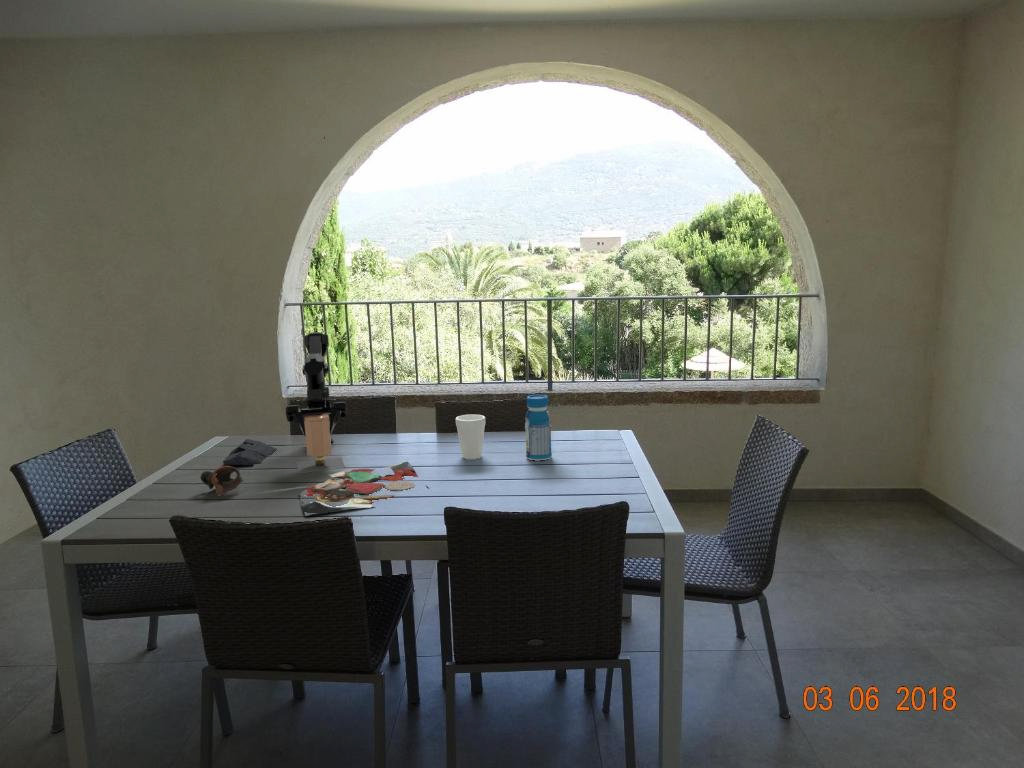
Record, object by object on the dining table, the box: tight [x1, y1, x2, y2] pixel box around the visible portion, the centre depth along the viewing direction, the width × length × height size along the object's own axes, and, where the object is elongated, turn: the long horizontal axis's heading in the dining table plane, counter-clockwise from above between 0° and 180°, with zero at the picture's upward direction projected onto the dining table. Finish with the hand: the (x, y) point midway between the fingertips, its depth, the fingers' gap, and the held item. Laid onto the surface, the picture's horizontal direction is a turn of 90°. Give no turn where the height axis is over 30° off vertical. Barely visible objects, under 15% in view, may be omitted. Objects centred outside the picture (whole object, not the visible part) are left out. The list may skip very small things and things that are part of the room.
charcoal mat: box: [296, 456, 346, 474], centre depth 233 cm, size 14×14×1 cm
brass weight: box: [314, 456, 326, 466], centre depth 233 cm, size 3×3×4 cm
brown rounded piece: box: [200, 465, 244, 496], centre depth 211 cm, size 12×10×8 cm
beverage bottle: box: [524, 394, 553, 462], centre depth 233 cm, size 8×8×20 cm
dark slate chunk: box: [222, 438, 278, 467], centre depth 246 cm, size 15×22×5 cm
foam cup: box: [455, 414, 486, 460], centre depth 238 cm, size 10×9×13 cm
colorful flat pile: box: [300, 461, 430, 515], centre depth 209 cm, size 35×35×2 cm
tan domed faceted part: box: [303, 414, 333, 458], centre depth 231 cm, size 7×7×12 cm
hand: (317, 434), depth 230 cm, fingers closed on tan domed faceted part, 7 cm apart
